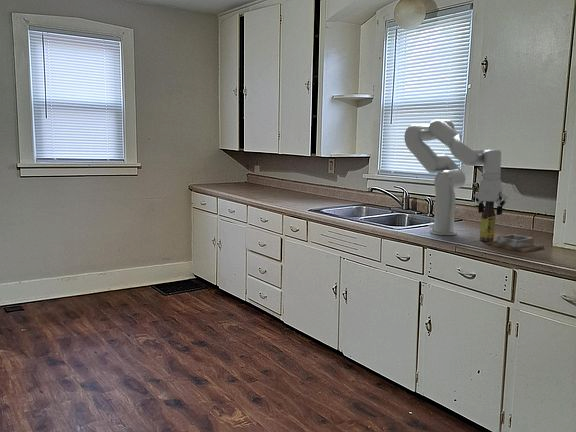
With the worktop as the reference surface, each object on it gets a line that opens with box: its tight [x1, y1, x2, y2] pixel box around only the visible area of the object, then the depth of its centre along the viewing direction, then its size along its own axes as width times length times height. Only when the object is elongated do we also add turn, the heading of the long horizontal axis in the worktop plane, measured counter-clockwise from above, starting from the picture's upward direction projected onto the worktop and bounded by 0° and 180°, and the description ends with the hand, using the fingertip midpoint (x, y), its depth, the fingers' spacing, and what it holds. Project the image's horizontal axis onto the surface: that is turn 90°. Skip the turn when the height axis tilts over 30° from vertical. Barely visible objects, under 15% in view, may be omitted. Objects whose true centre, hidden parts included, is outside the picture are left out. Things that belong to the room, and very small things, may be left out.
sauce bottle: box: [479, 201, 497, 242], centre depth 252 cm, size 7×6×20 cm
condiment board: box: [486, 233, 545, 253], centre depth 240 cm, size 18×15×4 cm
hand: (489, 213), depth 251 cm, fingers open, 9 cm apart
